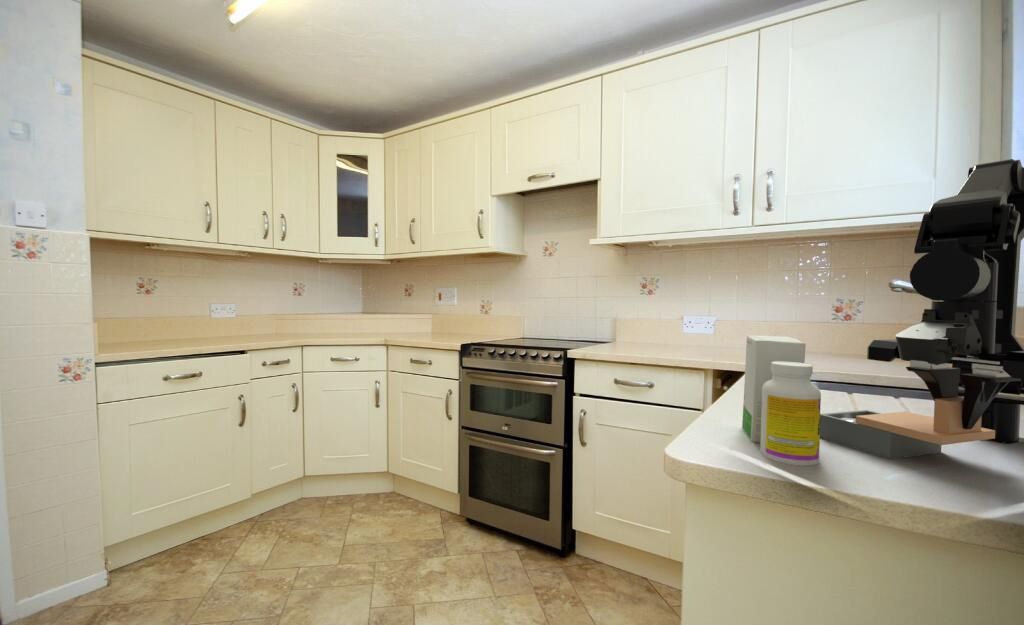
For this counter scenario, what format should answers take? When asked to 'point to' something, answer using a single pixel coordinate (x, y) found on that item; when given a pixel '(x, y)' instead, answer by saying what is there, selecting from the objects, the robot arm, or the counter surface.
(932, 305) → the robot arm
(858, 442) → the tub
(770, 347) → the skincare box
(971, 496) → the counter surface
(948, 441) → the lid
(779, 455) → the supplement bottle
